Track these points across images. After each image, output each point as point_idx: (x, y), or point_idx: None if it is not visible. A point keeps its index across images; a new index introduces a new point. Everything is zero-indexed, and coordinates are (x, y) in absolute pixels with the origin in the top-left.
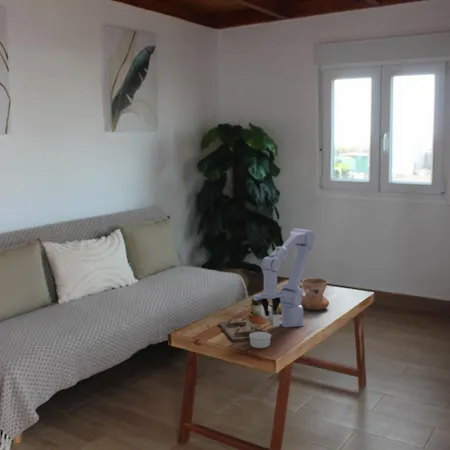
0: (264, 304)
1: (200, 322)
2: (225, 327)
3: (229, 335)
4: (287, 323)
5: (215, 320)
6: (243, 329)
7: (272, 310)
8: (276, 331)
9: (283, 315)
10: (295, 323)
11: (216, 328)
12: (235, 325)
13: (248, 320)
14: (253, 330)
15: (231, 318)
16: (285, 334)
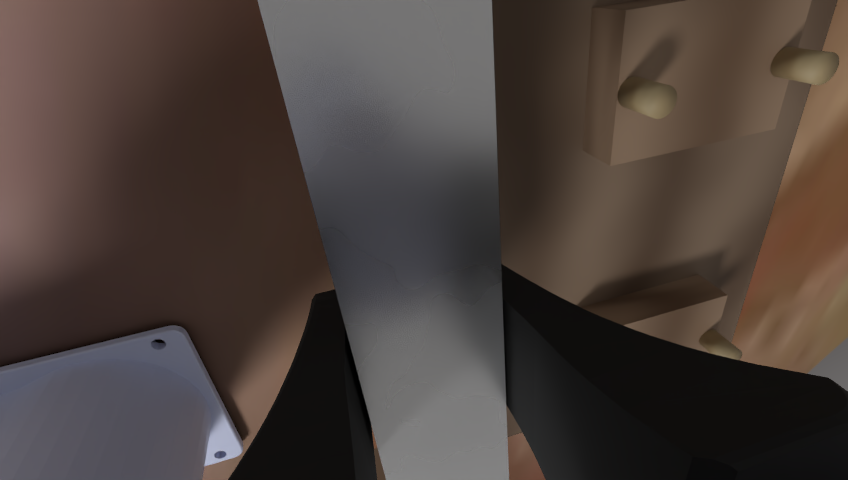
0: (756, 368)
1: None
2: (741, 260)
3: (826, 32)
4: (132, 378)
5: None
6: (721, 88)
7: (403, 325)
8: (283, 210)
9: (169, 476)
10: (21, 397)
11: (757, 284)
12: (668, 290)
13: (512, 422)
14: (635, 29)
15: (725, 352)
16: (162, 92)
